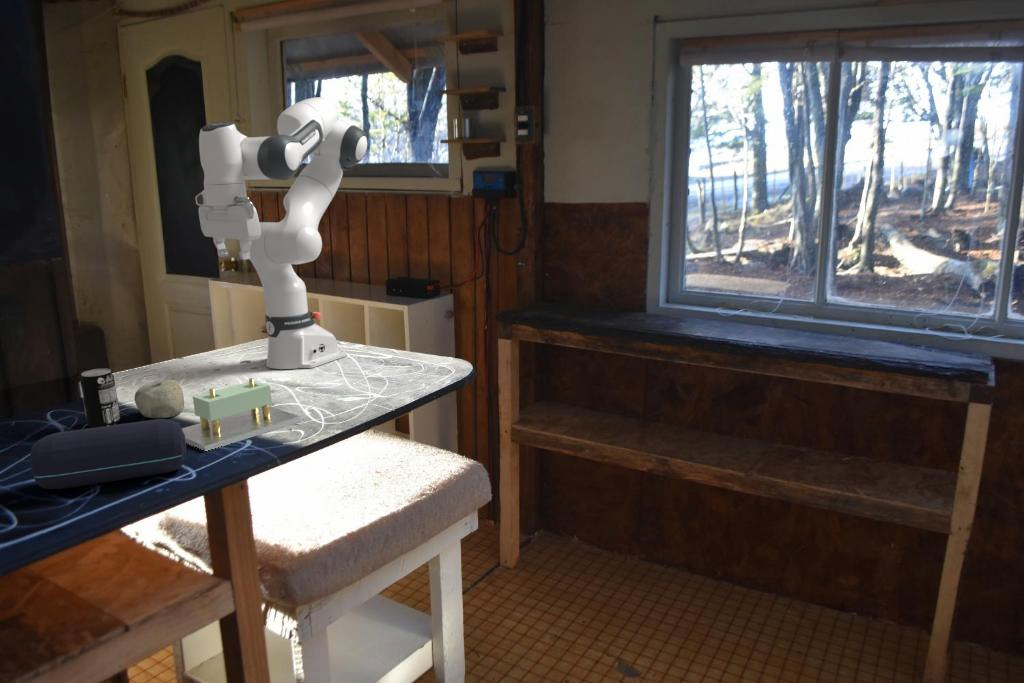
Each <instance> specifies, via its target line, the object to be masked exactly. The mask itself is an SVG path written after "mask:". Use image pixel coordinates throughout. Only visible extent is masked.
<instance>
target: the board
mask: <svg viewBox="0 0 1024 683" xmlns="http://www.w3.org/2000/svg"><path fill="white" fill-rule="evenodd" d="M254 386H255V387H252V388H250V385H249V381H248V382H243V383H239V384H236V385H232V386H227V387H223V388H221V389H216V390H215V398H210V391H209V392H205V393H202V394H197V395H194V396H192V401H193V409H194V415H195V416H197V417H199V418H200V417H202V418H204V419H207V420H209V421H213V420H217V419H220V418H224V417H227V416H230V415H234V414H237V413H241V412H244V411H248V410H251V409H254V408H258V407H261V406H265V405H268V404H269V405H271V404H273V402H272V392H271V390H272V389H271V386H270V384H266V383H262V382H259V381H255V380H254Z"/></svg>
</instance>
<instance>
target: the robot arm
mask: <svg viewBox="0 0 1024 683" xmlns="http://www.w3.org/2000/svg"><path fill="white" fill-rule="evenodd" d="M276 125H277V126H276V130H277V134H278V135H269V136H255V137H253V136H252V137H251V136H250V137H248V136H247V135H244V134H243V133H241V132H240V131H239V130H238V129H237V127H236V124H235V123H233V122H231V121H230V122H229V121H221V122H215V123H210V124H206V125H203V127H202V128H200V131H199V136H198V143H199V144H198V147H199V148H198V149H199V158H200V164H201V168H202V169H203V174H204V175H203V176H204V177H203V178H204V180H203V188H204V189H203V190H202V191H201V192H199V193H198V194H197V195H196V196H195V203H196V205H197V206H198V217H199V223H200V229H201V233H202V234H203V236H204V237H208V238H212V240H213V243H214V245H215V248H216V249H217V256H218V257H219V258H220V257H221V258H224V257H229V250H228V248H227V247H226V245H225V241H226V240H225V239H229V240H230V239H231V240H238V241H239V243H238V244H239V247H240V251H238V255H239V259H240V260H243V261H245V260H249V261H250V262H251V264H252V265H253V268H254V269H255V271H256V273H257V275H258V277H259V279H260V283H261V286H262V290H263V296H264V303H265V312H266V315H265V317H264V318H265V326H266V327H265V328H266V329H265V330H266V333H267V337H268V338H267V340H268V342H267V357H266V358H267V359H266V363H265V366H266V367H267V368H270V369H275V370H291V369H293V370H294V369H295V370H296V369H312V368H313V369H314V368H315V367H319V366H322V365H324V364H327V363H330V362H333V361H336V360H339V359H342V358H344V357H347V355H348V354H347V352H346V350H344V349H341V348H339V347H338V342H337V338H336V337H335V335H334V334H333V333H332V332H330V331H328V330H327V329H325V328H323V327H321V326H320V325H319V324H317V323H316V322H315V320H321V318H322V316H323V314H322V313H321V312H320V311H319V312H318V311H313V312H312V311H310V310H309V308H308V297H307V287H306V284H305V281H304V280H302V278H300V277H299V276H298V275H297V273H296V271H295V270H294V268H293V265H301V264H302V265H303V264H307V263H310V262H313V261H315V260H316V259H318V258H319V256H320V254H321V252H322V248H323V241H322V236H321V234H320V232H319V225H320V221H321V219H322V217H323V215H324V213H326V210H327V208H328V207H329V205H330V203H331V202H332V201H333V199H334V197H335V196H336V193H337V191H338V189H339V186H340V184H341V181H342V178H343V174H344V172H343V171H349V170H350V169H351V168H352V167H355V166H356V165H358V164H359V163H361V161H363V159H364V158H365V156H366V153H367V151H368V144H369V139H368V136H367V133H366V132H365V131H364V130H363V129H362V128H360V127H359V126H356V125H353V124H350V123H347V122H345V121H342V120H340V119H338V112H337V109H336V108H335V106H334V104H333V103H332V102H331V101H330V100H329V99H327V98H324V97H320V96H319V97H318V96H317V97H316V96H315V97H310V98H306V99H303V100H301V101H298V102H296V103H294V104H292V105H290V106H288V107H287V108H286V109H284V110H283V111H282V112H281V113H280V114H279V116H278V117H277V122H276ZM311 154H313V155H314V156H313V159H311V160H310V161H309V162H308V163H307V165H305V167H304V168H303V169H302V171H301V172H300V173H299V174H298V176H297V177H296V178H295V181H294V182H293V183H292V185H291V186H290V188H289V190H288V191H287V193H286V194H285V195H284V198H283V201H282V202H283V203H282V204H283V206H284V210H285V212H286V213H285V216H284V218H283V219H282V220H280V221H277V222H275V221H274V222H273V221H268V222H267V221H261V222H260V219H259V215H258V212H257V209H256V207H255V206H254V204H253V202H252V201H251V200H250V198H249V197H248V194H247V186H246V180H247V181H250V180H254V181H255V180H256V181H257V180H276V181H288V180H290V179H292V178H293V177H294V176H295V174H296V173H297V172H298V170H299V168H300V166H301V164H302V163H303V162H304V160H305V159H307V158H308V157H309V156H311Z"/></svg>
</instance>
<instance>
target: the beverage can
mask: <svg viewBox="0 0 1024 683" xmlns="http://www.w3.org/2000/svg"><path fill="white" fill-rule="evenodd" d="M80 376H81V378H80V380H79V382H80V387H81V388H80V389H81V393H82V394H81V395H82V401H83V408H84V412H85V420H86V423H87V426H89V427H90V428H96V427H101V426H102V427H104V426H111V425H118V423H119V421H120V420H121V412H120V407H119V402H118V401H119V399H118V395H117V388H116V387H117V386H116V382H115V376H114V375H113V373H112V371H111V369H110V368H93V369H90V370H85V371H83V372H82V373H81V375H80Z"/></svg>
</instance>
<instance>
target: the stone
mask: <svg viewBox="0 0 1024 683" xmlns="http://www.w3.org/2000/svg"><path fill="white" fill-rule="evenodd" d="M183 392H184V391H183V388H182V386H181V384H180V383H179V382H178V381H176V380H173V379H163V380H162V379H161V380H160V379H159V380H156V381H153V382H151V383H148V384H146V385H143V386H141V387H139V388H138V389H137V390H136V392H135V393H134V403H135V405H136V407H137V409H138V411H139V412H140V414H141V415H142V416H143V417H145V418H150V419H167V418H173V417H175V416H177V415H179V414H181V413H182V412H183V411H184V407H185V398H184V393H183Z"/></svg>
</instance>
